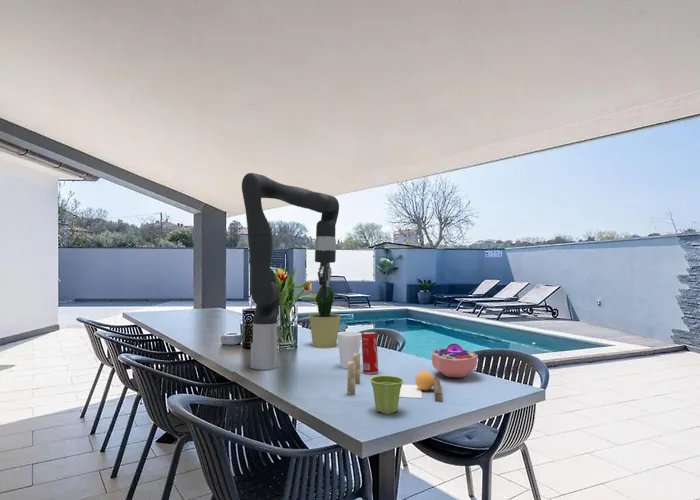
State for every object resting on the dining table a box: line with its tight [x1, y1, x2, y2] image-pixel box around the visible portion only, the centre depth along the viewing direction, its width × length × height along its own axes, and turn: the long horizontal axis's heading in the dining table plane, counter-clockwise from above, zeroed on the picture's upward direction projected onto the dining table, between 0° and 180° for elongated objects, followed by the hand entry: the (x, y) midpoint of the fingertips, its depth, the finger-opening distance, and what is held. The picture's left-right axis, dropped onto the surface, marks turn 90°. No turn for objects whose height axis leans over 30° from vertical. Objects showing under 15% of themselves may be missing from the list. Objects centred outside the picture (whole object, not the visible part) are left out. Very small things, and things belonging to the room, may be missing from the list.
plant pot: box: [369, 375, 405, 414], centre depth 130 cm, size 9×9×9 cm
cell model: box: [430, 343, 479, 379], centre depth 169 cm, size 17×20×11 cm
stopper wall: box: [432, 377, 443, 402], centre depth 147 cm, size 2×18×2 cm, turn 172°
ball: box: [415, 370, 435, 391], centre depth 151 cm, size 6×6×6 cm
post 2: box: [353, 352, 361, 385], centre depth 158 cm, size 2×2×10 cm
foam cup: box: [337, 331, 362, 369], centre depth 182 cm, size 10×9×13 cm
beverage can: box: [361, 331, 379, 375], centre depth 173 cm, size 6×6×15 cm
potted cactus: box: [308, 285, 341, 349], centre depth 224 cm, size 15×15×30 cm
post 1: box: [346, 361, 356, 396], centre depth 145 cm, size 2×2×10 cm
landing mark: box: [399, 383, 423, 399], centre depth 149 cm, size 14×14×1 cm
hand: (324, 297), depth 167 cm, fingers closed
